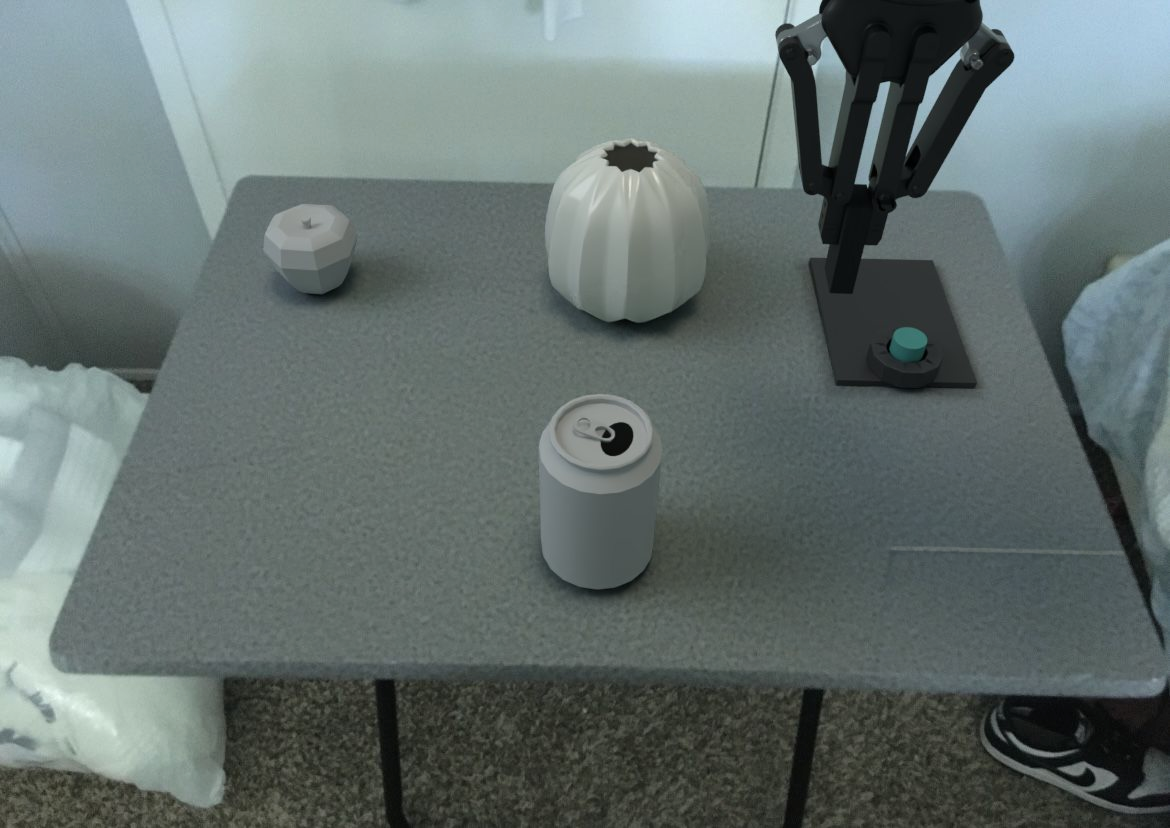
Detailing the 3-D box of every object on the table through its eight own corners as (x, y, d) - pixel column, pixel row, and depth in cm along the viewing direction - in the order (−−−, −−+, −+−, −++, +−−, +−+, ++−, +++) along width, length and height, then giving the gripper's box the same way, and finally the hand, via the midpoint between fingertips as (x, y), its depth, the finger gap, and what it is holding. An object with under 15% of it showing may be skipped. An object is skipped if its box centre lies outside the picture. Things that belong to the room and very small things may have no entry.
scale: (977, 394, 81) (985, 374, 79) (837, 391, 81) (842, 371, 79) (931, 265, 93) (937, 245, 91) (808, 262, 93) (812, 242, 91)
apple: (268, 263, 92) (252, 199, 87) (357, 247, 93) (346, 184, 89) (278, 318, 86) (261, 254, 82) (372, 300, 88) (361, 237, 83)
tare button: (926, 364, 80) (930, 349, 79) (892, 363, 80) (897, 348, 79) (919, 341, 82) (923, 327, 81) (886, 341, 82) (890, 326, 81)
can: (634, 610, 66) (644, 488, 58) (524, 579, 68) (519, 455, 59) (665, 524, 71) (679, 400, 63) (563, 496, 73) (563, 372, 64)
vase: (549, 243, 94) (547, 108, 85) (701, 247, 94) (716, 113, 84) (539, 342, 84) (535, 202, 75) (709, 347, 84) (727, 208, 75)
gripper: (1038, -122, 54) (926, 250, 70) (787, -128, 54) (735, 244, 71) (1081, -68, 48) (949, 320, 65) (803, -75, 49) (742, 313, 65)
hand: (838, 280), depth 68 cm, fingers closed
